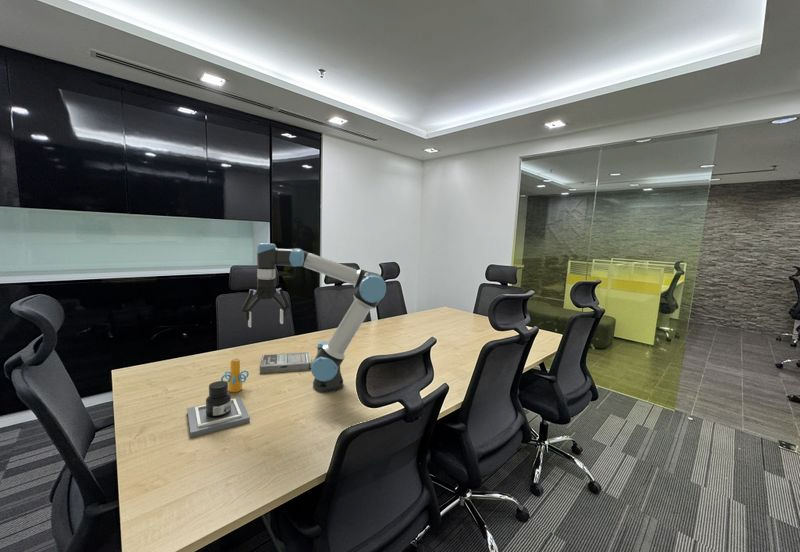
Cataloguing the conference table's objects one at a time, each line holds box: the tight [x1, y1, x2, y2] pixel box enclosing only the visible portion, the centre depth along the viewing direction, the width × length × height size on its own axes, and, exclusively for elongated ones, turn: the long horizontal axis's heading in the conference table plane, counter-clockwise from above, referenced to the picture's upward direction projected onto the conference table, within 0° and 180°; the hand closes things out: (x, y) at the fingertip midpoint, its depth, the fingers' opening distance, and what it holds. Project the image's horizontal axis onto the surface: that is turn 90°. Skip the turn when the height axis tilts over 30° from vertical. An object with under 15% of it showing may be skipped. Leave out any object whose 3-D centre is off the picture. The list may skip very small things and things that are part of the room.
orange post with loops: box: [220, 357, 249, 393], centre depth 156 cm, size 12×10×15 cm
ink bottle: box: [205, 380, 232, 418], centre depth 131 cm, size 10×9×12 cm
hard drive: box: [259, 351, 312, 374], centre depth 189 cm, size 18×27×4 cm
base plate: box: [186, 396, 251, 438], centre depth 132 cm, size 20×20×3 cm
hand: (266, 325), depth 146 cm, fingers open, 13 cm apart
